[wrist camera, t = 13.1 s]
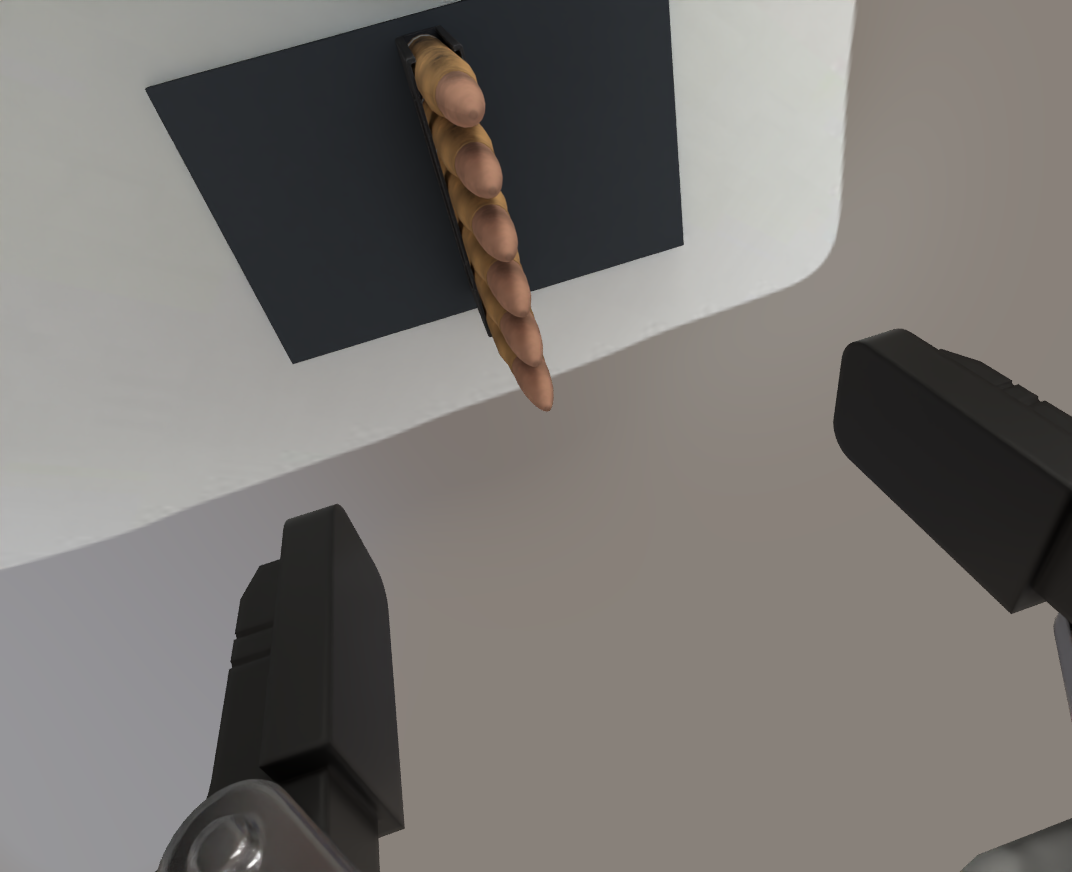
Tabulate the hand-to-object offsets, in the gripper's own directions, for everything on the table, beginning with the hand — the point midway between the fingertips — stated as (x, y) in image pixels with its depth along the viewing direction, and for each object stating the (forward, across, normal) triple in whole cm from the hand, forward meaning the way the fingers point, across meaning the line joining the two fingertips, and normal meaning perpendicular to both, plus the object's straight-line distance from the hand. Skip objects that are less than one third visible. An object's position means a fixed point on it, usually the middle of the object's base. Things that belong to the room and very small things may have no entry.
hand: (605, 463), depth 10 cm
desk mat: (+21, 0, +1) cm, 21 cm away
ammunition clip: (+21, -1, +1) cm, 21 cm away
